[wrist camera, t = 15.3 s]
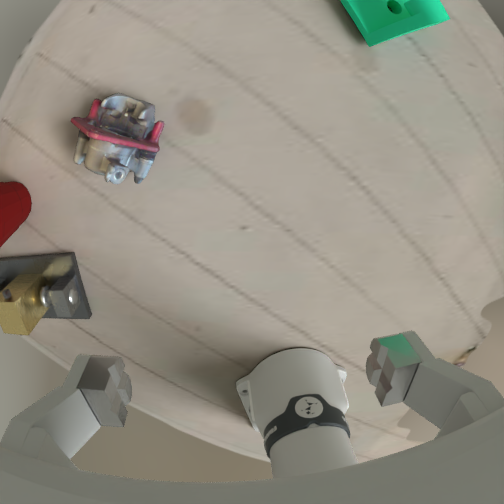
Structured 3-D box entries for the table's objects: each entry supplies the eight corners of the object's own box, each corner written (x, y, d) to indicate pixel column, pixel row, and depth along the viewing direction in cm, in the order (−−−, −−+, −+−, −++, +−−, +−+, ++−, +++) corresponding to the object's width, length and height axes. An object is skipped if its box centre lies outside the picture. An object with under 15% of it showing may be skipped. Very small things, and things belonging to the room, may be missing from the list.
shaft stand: (92, 314, 41) (80, 335, 37) (12, 312, 40) (-2, 329, 36) (74, 252, 38) (57, 269, 33) (-7, 259, 37) (-25, 273, 32)
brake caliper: (187, 93, 29) (140, 161, 23) (168, 157, 38) (131, 226, 32) (102, 66, 27) (39, 126, 21) (97, 131, 36) (51, 194, 29)
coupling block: (54, 308, 39) (30, 340, 32) (30, 307, 39) (6, 337, 32) (40, 268, 37) (12, 296, 29) (17, 269, 36) (-12, 296, 29)
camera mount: (401, -18, 26) (441, -42, 16) (428, 26, 29) (474, 12, 19) (334, -1, 28) (367, -32, 18) (365, 48, 30) (407, 30, 21)
